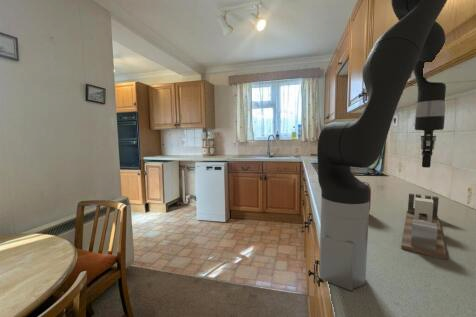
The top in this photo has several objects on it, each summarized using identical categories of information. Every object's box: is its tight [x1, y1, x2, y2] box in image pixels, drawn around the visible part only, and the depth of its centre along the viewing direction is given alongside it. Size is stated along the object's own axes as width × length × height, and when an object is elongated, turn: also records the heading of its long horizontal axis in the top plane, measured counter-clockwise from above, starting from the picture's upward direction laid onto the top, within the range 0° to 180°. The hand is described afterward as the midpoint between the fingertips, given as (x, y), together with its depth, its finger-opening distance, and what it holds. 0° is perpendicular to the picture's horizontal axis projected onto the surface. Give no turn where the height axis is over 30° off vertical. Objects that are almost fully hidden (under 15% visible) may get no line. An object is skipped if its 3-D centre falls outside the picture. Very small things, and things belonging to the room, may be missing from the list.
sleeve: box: [414, 197, 433, 223], centre depth 73 cm, size 4×4×7 cm
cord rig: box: [400, 192, 447, 260], centre depth 72 cm, size 35×9×8 cm, turn 142°
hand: (425, 167), depth 78 cm, fingers closed
